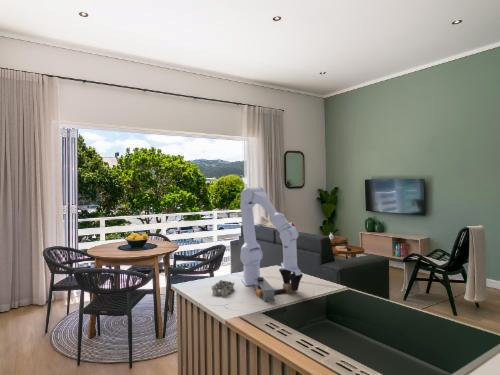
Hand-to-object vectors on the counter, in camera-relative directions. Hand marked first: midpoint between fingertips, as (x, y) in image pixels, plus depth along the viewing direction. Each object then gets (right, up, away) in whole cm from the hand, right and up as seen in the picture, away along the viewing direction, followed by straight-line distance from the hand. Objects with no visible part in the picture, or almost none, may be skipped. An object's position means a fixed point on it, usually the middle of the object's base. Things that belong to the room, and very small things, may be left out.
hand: (291, 288), depth 145 cm
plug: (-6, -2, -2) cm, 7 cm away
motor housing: (-11, -2, -3) cm, 12 cm away
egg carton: (-29, -3, +3) cm, 29 cm away
